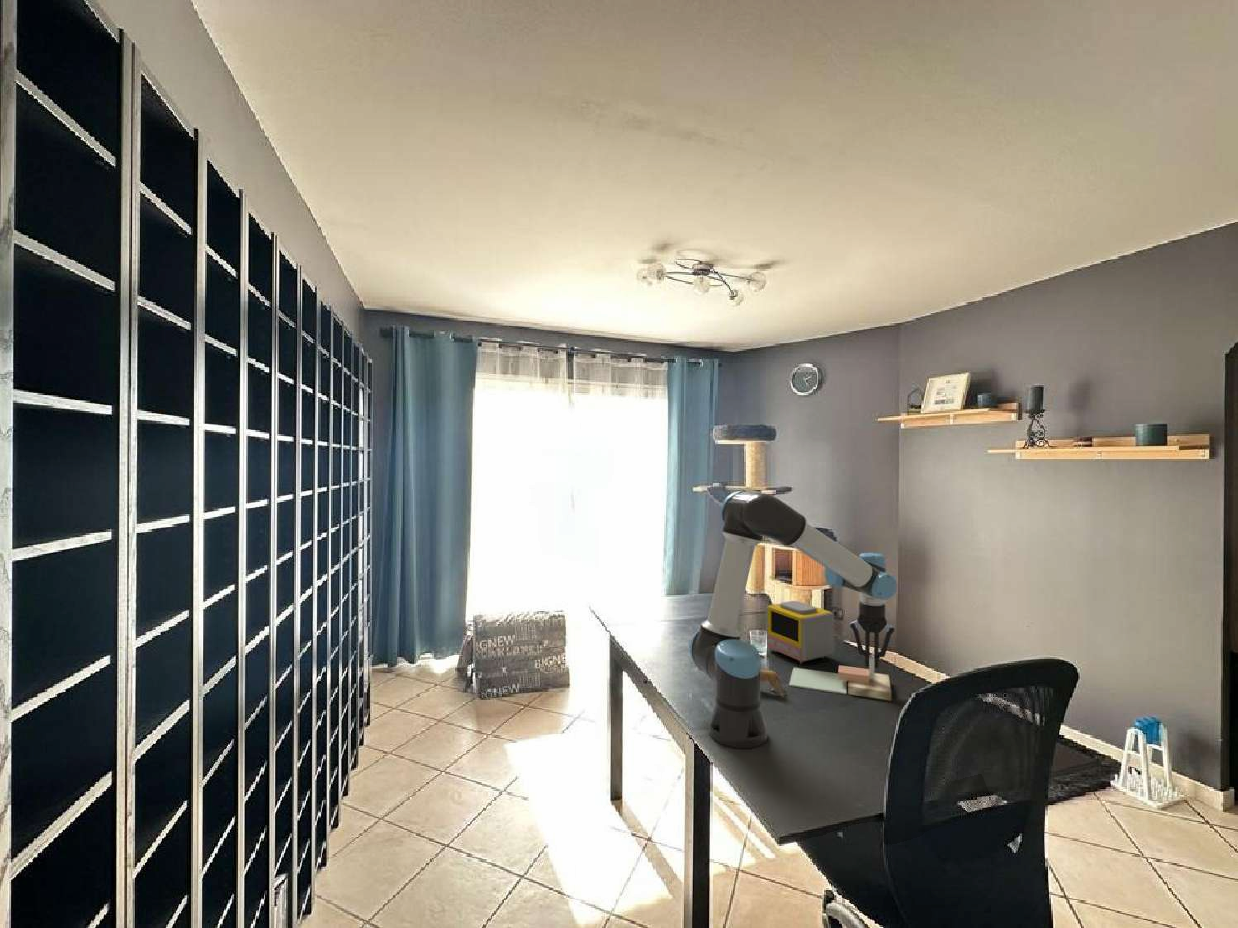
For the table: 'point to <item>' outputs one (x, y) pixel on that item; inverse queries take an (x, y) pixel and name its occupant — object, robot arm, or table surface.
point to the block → (853, 674)
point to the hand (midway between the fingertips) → (871, 676)
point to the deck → (872, 687)
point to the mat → (817, 681)
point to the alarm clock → (800, 630)
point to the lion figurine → (771, 680)
